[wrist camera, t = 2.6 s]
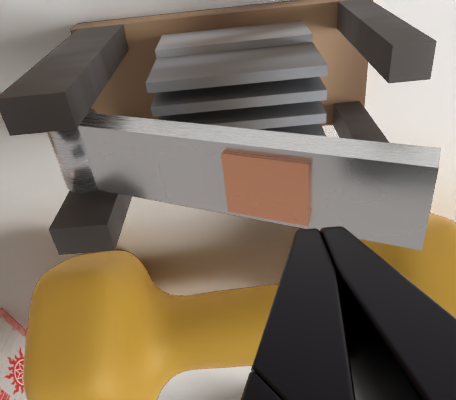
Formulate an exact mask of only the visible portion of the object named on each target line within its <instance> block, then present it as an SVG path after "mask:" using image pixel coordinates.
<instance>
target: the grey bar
mask: <svg viewBox="0 0 456 400" xmlns="http://www.w3.org/2000/svg"><path fill="white" fill-rule="evenodd" d="M47 133H48V136H49V139H50V141H51V144H52V147H53V150H54V152H55V155H56V158H57V161H58V164H59V166H60V169H61V172H62V175H63V178H64V180H65V183H66V186H67V188H68V189H69V190H70V191H72V192H77V193H85V192H91V191H95V190H102V191H107V192H112V193H118V194H123V195H128V196H134V197H139V198H144V199H150V200H155V201H160V202H166V203H171V204H176V205H182V206H187V207H192V208H198V209H203V210H208V211H214V212H219V213H224V214H230V215H235V216H240V217H246V218H251V219H256V220H262V221H267V222H272V223H278V224H283V225H288V226H294V227H299V228H304V229H311V228H317V229H318V230H319V231H320V229H321V228H324V227H335V226H342V227H344V228H346V229H347V230H348V231H349V232H350V233H352V234H353V235H354V236H355V237H357V238H358V239H363V240H368V241H373V242H379V243H384V244H389V245H395V246H400V247H405V248H411V249H416V250H421V251H422V249H423V244H424V239H425V234H426V229H427V224H428V218H429V213H430V208H431V203H432V198H433V193H434V188H435V183H436V178H437V173H438V168H439V160H440V151H441V148H435V147H425V146H415V145H405V144H395V143H385V142H375V141H365V140H355V139H345V138H335V137H326V136H316V135H306V134H296V133H286V132H276V131H266V130H256V129H246V128H236V127H226V126H216V125H206V124H196V123H187V122H177V121H167V120H157V119H147V118H137V117H127V116H117V115H107V114H97V112H96V111H95V110H94V109H92V108H90V110H89V111H88V113H87V114H86V116H85V118H84V119H83V121H82V122H81V124H80V125H79V127H78V128H77V129H73V130H63V131H53V132H47Z"/></svg>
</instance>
